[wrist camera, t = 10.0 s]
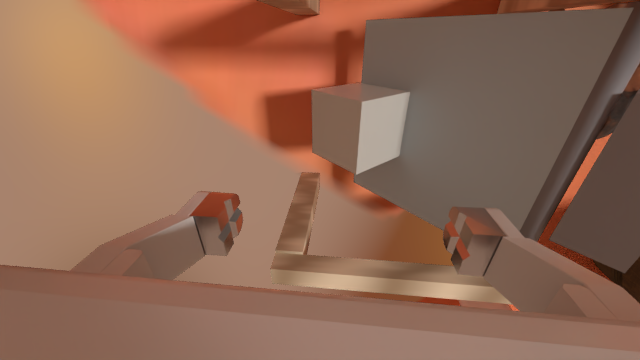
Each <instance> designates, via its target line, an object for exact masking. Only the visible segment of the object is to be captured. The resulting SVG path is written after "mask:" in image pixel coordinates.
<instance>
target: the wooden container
mask: <svg viewBox="0 0 640 360" xmlns="http://www.w3.org/2000/svg"><path fill="white" fill-rule="evenodd" d="M593 261H594V263H595V265H596V266H597V267H598V268H599V269H600V270H601V271H602V272H603V273H604V274H605V275H606V276H607V277H608V278H609V279H610V280H611V281H612V282H613V283H615V284H617V285H619V286H620V287H622V288H623V289H624V290H626V291H627V292H628V293H629V294H630V295H631V296H632V297H633V298H634V299H635V300H636V301H637V302H638V303H639V304H640V257H639V258H638V259H637V260H636V261H635V262H634V263H633V265H632V266H631V267H630V268H629V269H628V270H627V271H626V273H623V272H620V271H618V270H616V269H614V268H611V267H609V266H607V265H605V264H602V263H600V262H598V261H595V260H593Z"/></svg>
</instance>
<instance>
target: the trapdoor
mask: <svg viewBox="0 0 640 360" xmlns="http://www.w3.org/2000/svg"><path fill="white" fill-rule="evenodd" d="M639 63H640V1H634V2H628V4H627V6H626V8H612V9H590V10H569V11H548V12H527V13H505V14H484V15H463V16H442V17H420V18H399V19H378V20H366V30H365V43H364V56H363V69H362V81H361V83H364V84H369V85H375V86H381V87H386V88H392V89H398V90H404V91H409V92H410V96H409V102H408V108H407V114H406V120H405V126H404V131H403V137H402V143H401V149H400V155H399V156H398V157H396V158H394V159H391V160H389V161H387V162H384V163H382V164H380V165H377V166H375V167H373V168H371V169H368V170H366V171H364V172H361V173H359V174H357V175H356V174H354V182H355V183H356V184H358V185H360V186H362V187H364V188H366V189H367V190H369V191H371V192H373V193H375V194H377V195H379V196H380V197H382V198H384V199H386V200H388V201H390V202H392V203H393V204H395V205H397V206H399V207H401V208H403V209H404V210H406V211H408V212H410V213H412V214H414V215H416V216H417V217H419V218H421V219H423V220H425V221H427V222H429V223H430V224H432V225H434V226H436V227H438V228H440V229H441V230H443V231H444V228H445V225H446V224H447V223H449V222H450V221H451V220H450V218H449V216H448V215H449V212H450V209H451V208H452V207H475V208H498V209H500V210H501V211H502V212H503V213H504V215H505V216H506V217H507V218H508V219H509V220H510V221H511V223H512V224H513V225H514V226H515V227H516V228H517V230H518V231H519V232H520V233H521V234H522V235H523V236H524V238H530V239H532V240H534V241H536V242H537V241H538V240H539V238H540V236H541V234H542V233H543V231H544V229H545V227H546V226H547V224H548V222H549V220H550V219H551V217H552V215H553V213H554V212H555V210H556V208H557V206H558V205H559V203H560V201H561V199H562V198H563V196H564V194H565V192H566V191H567V189H568V187H569V185H570V184H571V182H572V180H573V178H574V177H575V175H576V173H577V171H578V170H579V168H580V166H581V164H582V163H583V161H584V159H585V157H586V156H587V154H588V152H589V150H590V149H591V147H592V145H593V143H594V142H595V140H596V138H597V136H598V135H599V133H600V131H601V129H602V128H603V126H604V124H605V122H606V121H607V119H608V117H609V115H610V114H611V112H612V110H613V108H614V107H615V105H616V103H617V102H618V100H619V98H620V96H621V95H622V93H623V91H624V89H625V88H626V86H627V84H628V82H629V81H630V79H631V77H632V75H633V74H634V72H635V70H636V68H637V67H638V65H639ZM549 240H550V241H552V242H555V243H557V244H559V245H561V246H564V247H566V248H568V249H570V250H573V251H575V252H577V253H580V254H582V255H584V256H586V257H589V258H591V259H593V260H595V261H598V262H600V263H602V264H605V265H607V266H609V267H611V268H614V269H616V270H618V271H620V272H623V273H626V271H627V270H628V269H629V268H630V267H631V266H632V265H633V263H634V262H635V261H636V260H637V259H638V258H639V257H640V89H639V90H638V92H637V93H636V95H635V97H634V98H633V100H632V102H631V103H630V105H629V107H628V108H627V110H626V112H625V113H624V115H623V117H622V118H621V120H620V122H619V123H618V125H617V127H616V128H615V130H614V132H613V133H612V135H611V137H610V138H609V140H608V142H607V143H606V145H605V147H604V148H603V150H602V152H601V153H600V155H599V157H598V158H597V160H596V162H595V163H594V165H593V167H592V168H591V170H590V172H589V173H588V175H587V177H586V178H585V180H584V182H583V183H582V185H581V187H580V188H579V190H578V192H577V193H576V195H575V197H574V198H573V200H572V202H571V203H570V205H569V207H568V208H567V210H566V212H565V213H564V215H563V217H562V218H561V220H560V222H559V223H558V225H557V227H556V228H555V230H554V232H553V233H552V235H551V237H550V238H549Z"/></svg>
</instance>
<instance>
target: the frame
mask: <svg viewBox="0 0 640 360" xmlns="http://www.w3.org/2000/svg"><path fill="white" fill-rule="evenodd" d="M257 1H260V2H263V3H266V4H268V5H271V6H274V7H276V8H279V9H282V10H285V11H287V12H290V13H293V14H296V15H316V14H320V0H257ZM626 1H635V0H501V1H500V5H499V8H498V12H497V14H505V13H527V12H541V11H550V10H558V9H567V8H575V7H584V6H592V5H601V4H609V3H618V2H626ZM319 188H320V173H305V172H302V174H301V177H300V180H299V183H298V185H297V189H296V191H295V194H294V197H293V200H292V203H291V206H290V209H289V212H288V215H287V218H286V221H285V224H284V227H283V230H282V233H281V235H280V239H279V241H278V244H277V247H276V253H275V256H274V259H273V262H272V265H271V268H270V270H271V277H272V283H273V284H283V285H295V286H306V287H318V288H329V289H341V290H353V291H364V292H376V293H387V294H399V295H410V296H422V297H433V298H445V299H456V300H468V301H480V302H491V303H503V304H512V303H511V302H509V301H508V300H507V299H506V298H505V297H504V296H503V295H502V294H501V293H499V292H498V291H497V290H496V289H495V288H494V287H493V286H492V285H491V284H489V283H488V282H487V281H486V280H485V279H484V277H480V276H470V275H461V274H457V272H456V270H455V267H454V266H447V265H432V264H420V263H407V262H394V261H381V260H368V259H355V258H341V257H328V256H315V255H307V251H308V246H309V240H310V235H311V230H312V225H313V220H314V214H315V209H316V204H317V199H318V193H319Z"/></svg>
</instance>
